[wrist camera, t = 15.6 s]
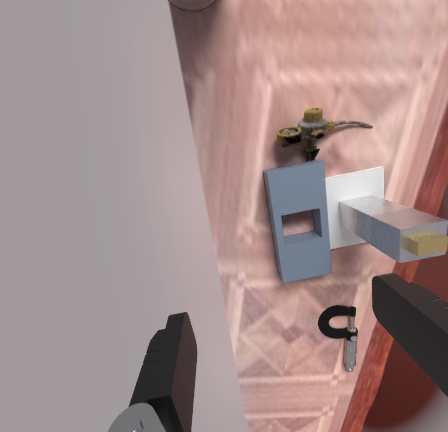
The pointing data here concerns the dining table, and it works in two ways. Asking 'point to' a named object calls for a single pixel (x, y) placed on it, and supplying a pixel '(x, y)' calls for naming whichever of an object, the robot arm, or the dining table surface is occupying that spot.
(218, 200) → the dining table surface
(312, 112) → the regulator
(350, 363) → the micrometer
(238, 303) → the dining table surface
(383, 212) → the grey yellow-tipped rectangular bar
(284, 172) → the body
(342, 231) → the mat
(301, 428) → the dining table surface
